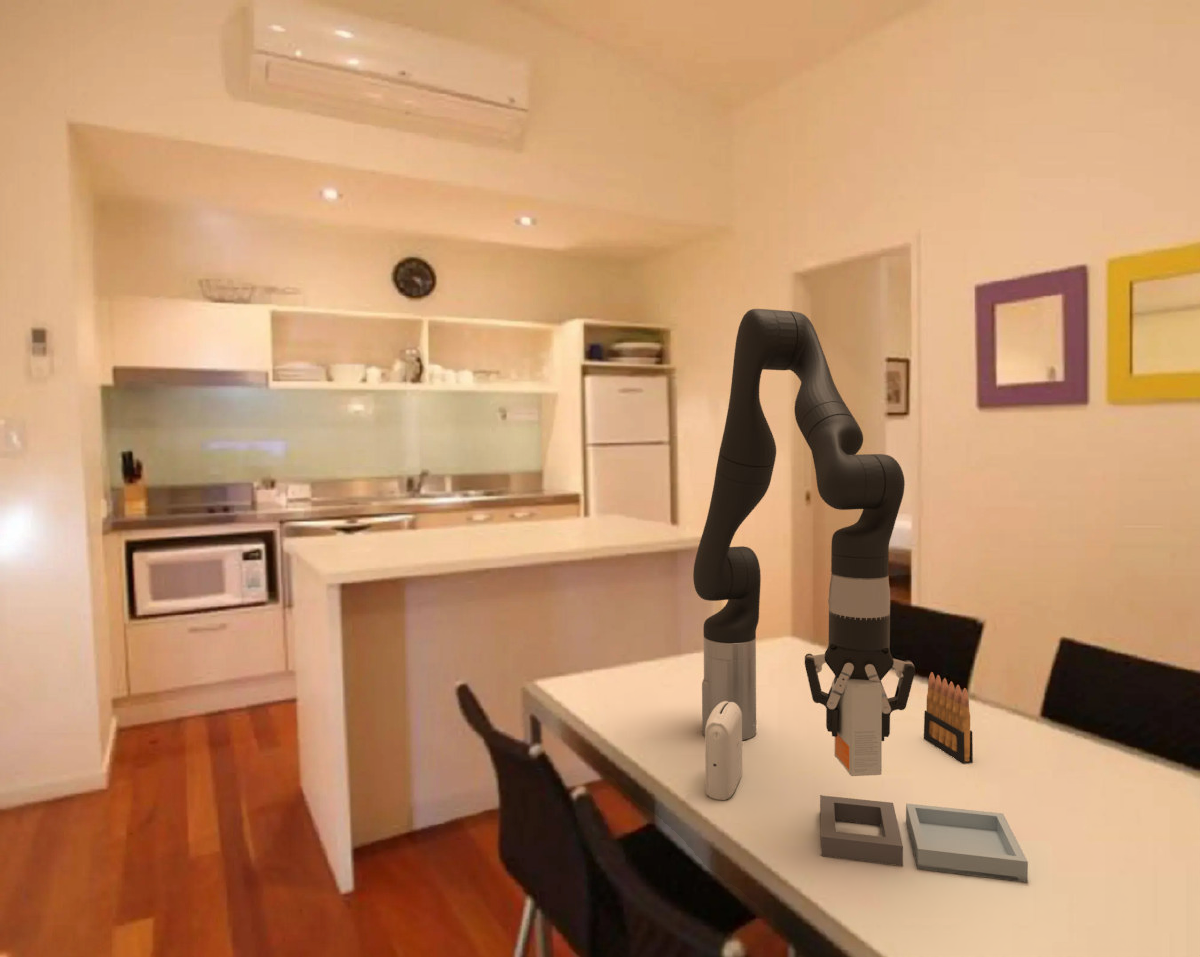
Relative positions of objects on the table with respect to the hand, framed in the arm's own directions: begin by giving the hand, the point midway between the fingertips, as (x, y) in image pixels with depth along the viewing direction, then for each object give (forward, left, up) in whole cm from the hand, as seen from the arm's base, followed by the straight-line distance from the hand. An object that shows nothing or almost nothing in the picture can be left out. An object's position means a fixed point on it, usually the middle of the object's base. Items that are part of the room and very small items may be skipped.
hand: (857, 736), depth 101 cm
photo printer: (-19, +11, -14) cm, 26 cm away
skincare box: (0, 0, -4) cm, 4 cm away
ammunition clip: (+16, +33, -14) cm, 39 cm away
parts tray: (+13, 0, -14) cm, 19 cm away
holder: (0, 0, -14) cm, 14 cm away
